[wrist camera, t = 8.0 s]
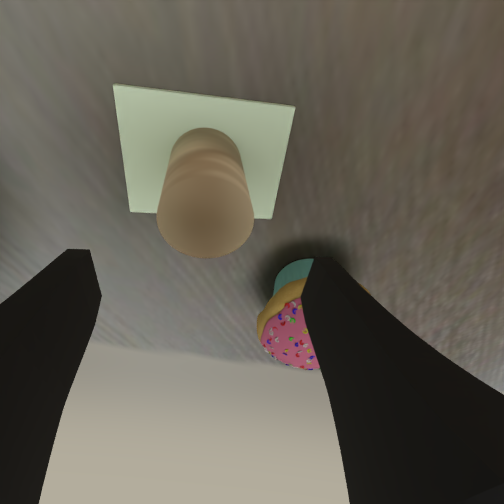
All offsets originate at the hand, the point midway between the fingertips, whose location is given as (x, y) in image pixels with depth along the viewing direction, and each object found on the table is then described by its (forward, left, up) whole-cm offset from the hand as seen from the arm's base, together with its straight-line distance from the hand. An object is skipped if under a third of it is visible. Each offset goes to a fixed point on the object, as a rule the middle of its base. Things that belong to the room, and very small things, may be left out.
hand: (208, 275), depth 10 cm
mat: (0, 0, -10) cm, 10 cm away
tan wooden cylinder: (0, 0, -9) cm, 9 cm away
